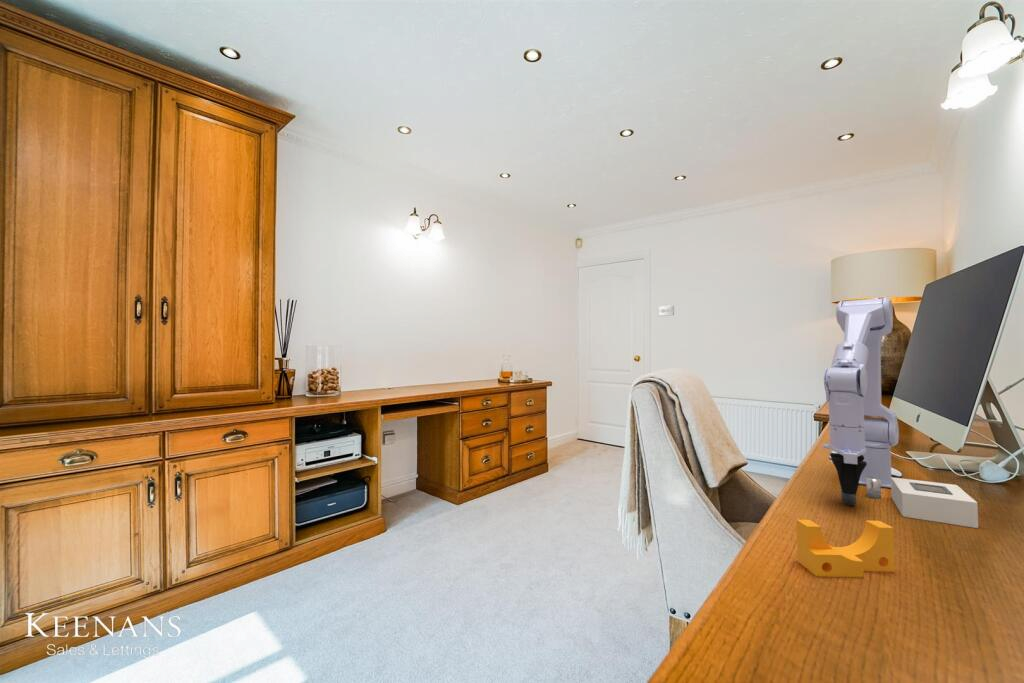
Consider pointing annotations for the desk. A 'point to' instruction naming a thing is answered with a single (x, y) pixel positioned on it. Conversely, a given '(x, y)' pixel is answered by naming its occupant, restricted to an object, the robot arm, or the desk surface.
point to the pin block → (934, 502)
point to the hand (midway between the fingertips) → (848, 491)
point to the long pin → (848, 498)
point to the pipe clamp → (846, 551)
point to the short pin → (873, 487)
